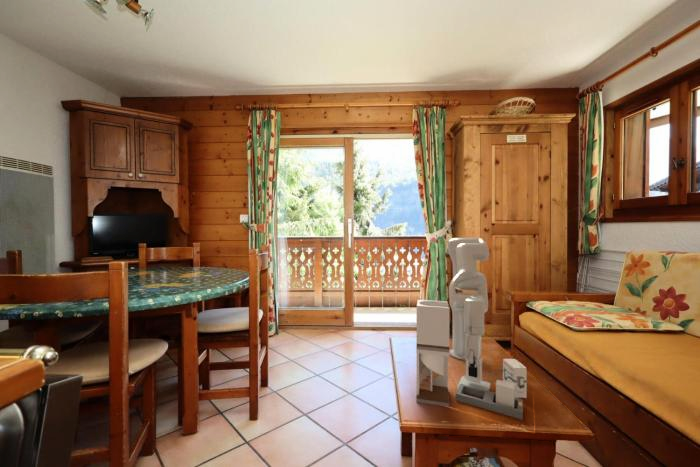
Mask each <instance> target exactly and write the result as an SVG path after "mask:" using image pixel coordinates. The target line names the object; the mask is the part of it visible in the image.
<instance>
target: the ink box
mask: <svg viewBox="0 0 700 467" xmlns="http://www.w3.org/2000/svg"><path fill="white" fill-rule="evenodd" d="M502 360H503V361H502V381H505V382H510V383H514V384H515V398H518V399H527V393H528V392H527V391H528V390H527V388H528V386H527V374H528V373H527V370H528V369H527V367H526V366H525V365H524V364H523V363H521V362H520V361H518V360H517V359H516V358H503V359H502Z"/></svg>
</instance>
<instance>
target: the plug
mask: <svg viewBox="0 0 700 467" xmlns="http://www.w3.org/2000/svg"><path fill="white" fill-rule="evenodd" d="M474 359H475V358H474ZM473 362H474V363H475V361H473ZM465 377H466V380H468V381H472V382H475V383H479V384H481V381H483V357H482V356H479V359H478V360H477V378H476V377H472V376H469V357H468V358H467V359H466V360H465Z"/></svg>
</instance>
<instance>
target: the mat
mask: <svg viewBox="0 0 700 467" xmlns="http://www.w3.org/2000/svg"><path fill="white" fill-rule="evenodd" d="M460 384H464V385H468V386H472V387H476V388H479V389H483V390H487V391H490V387H491V382H489V381H485V380H482V381H481V384H479V383H475V382H472V381H468V380H466V375H462V376H461V378H460V380H459V382H458V384H457V386H456V388H458V387H459V385H460Z"/></svg>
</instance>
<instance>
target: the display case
mask: <svg viewBox="0 0 700 467" xmlns="http://www.w3.org/2000/svg"><path fill="white" fill-rule="evenodd" d="M448 302H449V301H445V300H444V301H443V300H427V299H417V303H416V399H415V400H416V401H415V402H416V403H420V404H421V403H422V404H427V405H429V404H430V405H434V406H435V405H436V406H441V407H448V408H450V395H449V387H448V384H449V382H448V379H449V376H448V375H449V373H448V372H449V371H448V370H449V368H448V367H449V366H448V365H449V364H448V363H449V361H448V360H449V358H448V357H450V353H449V351H450V306H449V304H448Z"/></svg>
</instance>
